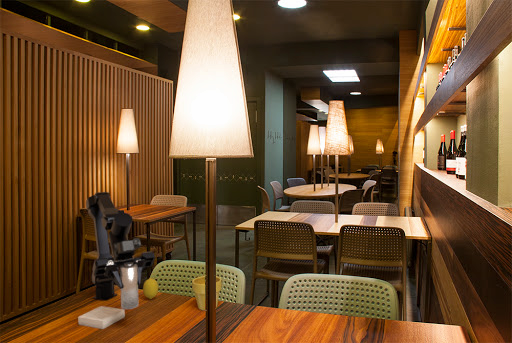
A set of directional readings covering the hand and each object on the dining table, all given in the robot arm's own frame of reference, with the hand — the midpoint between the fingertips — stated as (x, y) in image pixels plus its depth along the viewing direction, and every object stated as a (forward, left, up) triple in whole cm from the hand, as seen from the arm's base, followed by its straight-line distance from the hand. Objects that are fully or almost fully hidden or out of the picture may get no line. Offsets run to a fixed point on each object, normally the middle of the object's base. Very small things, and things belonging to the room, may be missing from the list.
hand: (130, 286), depth 125 cm
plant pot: (-24, +14, -14) cm, 31 cm away
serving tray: (-2, -13, -13) cm, 19 cm away
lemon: (-24, -10, -13) cm, 29 cm away
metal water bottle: (-1, -1, -7) cm, 7 cm away
